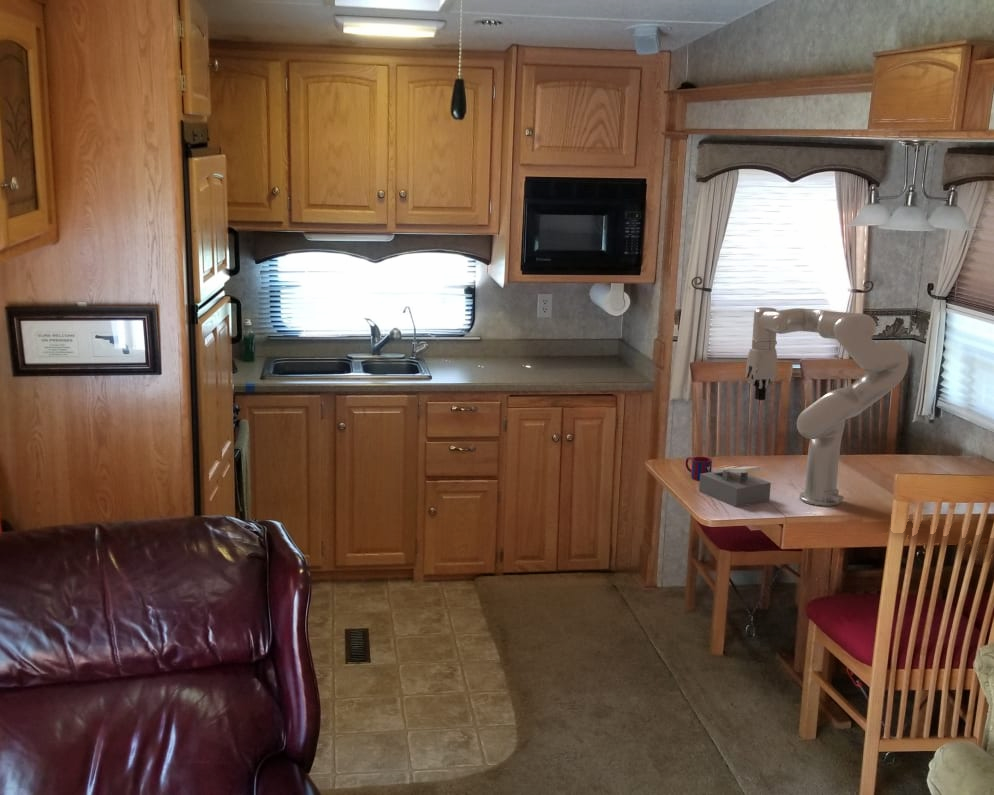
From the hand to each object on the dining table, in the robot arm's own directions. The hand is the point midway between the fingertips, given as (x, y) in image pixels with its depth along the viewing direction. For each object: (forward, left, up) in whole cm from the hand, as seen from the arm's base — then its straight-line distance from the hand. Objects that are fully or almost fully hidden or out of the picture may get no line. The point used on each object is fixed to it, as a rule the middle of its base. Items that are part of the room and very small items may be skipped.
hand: (759, 399), depth 342 cm
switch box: (-8, +16, -29) cm, 34 cm away
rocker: (-8, +16, -20) cm, 27 cm away
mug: (+14, +13, -29) cm, 35 cm away
